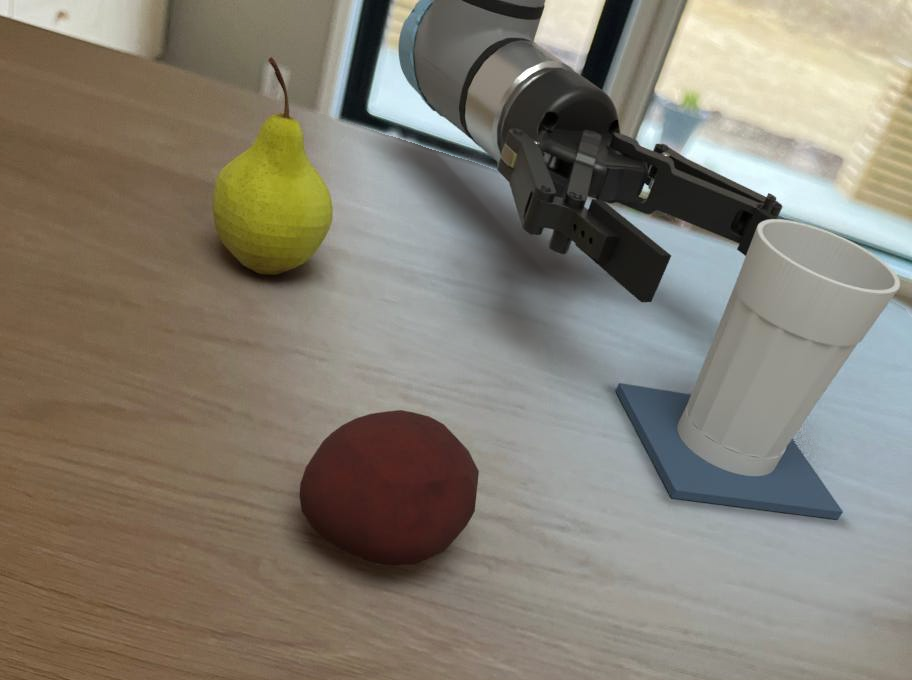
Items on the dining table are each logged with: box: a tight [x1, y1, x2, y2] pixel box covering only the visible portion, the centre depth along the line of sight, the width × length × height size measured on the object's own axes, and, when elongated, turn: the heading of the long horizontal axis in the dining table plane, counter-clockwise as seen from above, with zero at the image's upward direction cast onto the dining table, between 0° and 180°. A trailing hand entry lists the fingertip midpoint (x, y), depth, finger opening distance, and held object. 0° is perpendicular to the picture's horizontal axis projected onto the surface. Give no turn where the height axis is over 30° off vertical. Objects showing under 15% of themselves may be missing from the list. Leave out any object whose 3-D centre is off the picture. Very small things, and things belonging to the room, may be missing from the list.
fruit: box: [212, 57, 334, 276], centre depth 61 cm, size 7×7×12 cm
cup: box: [677, 218, 901, 476], centre depth 59 cm, size 8×8×12 cm
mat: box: [615, 382, 844, 520], centre depth 63 cm, size 11×11×1 cm
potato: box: [299, 409, 480, 567], centre depth 46 cm, size 7×8×6 cm
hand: (743, 280), depth 60 cm, fingers open, 13 cm apart
